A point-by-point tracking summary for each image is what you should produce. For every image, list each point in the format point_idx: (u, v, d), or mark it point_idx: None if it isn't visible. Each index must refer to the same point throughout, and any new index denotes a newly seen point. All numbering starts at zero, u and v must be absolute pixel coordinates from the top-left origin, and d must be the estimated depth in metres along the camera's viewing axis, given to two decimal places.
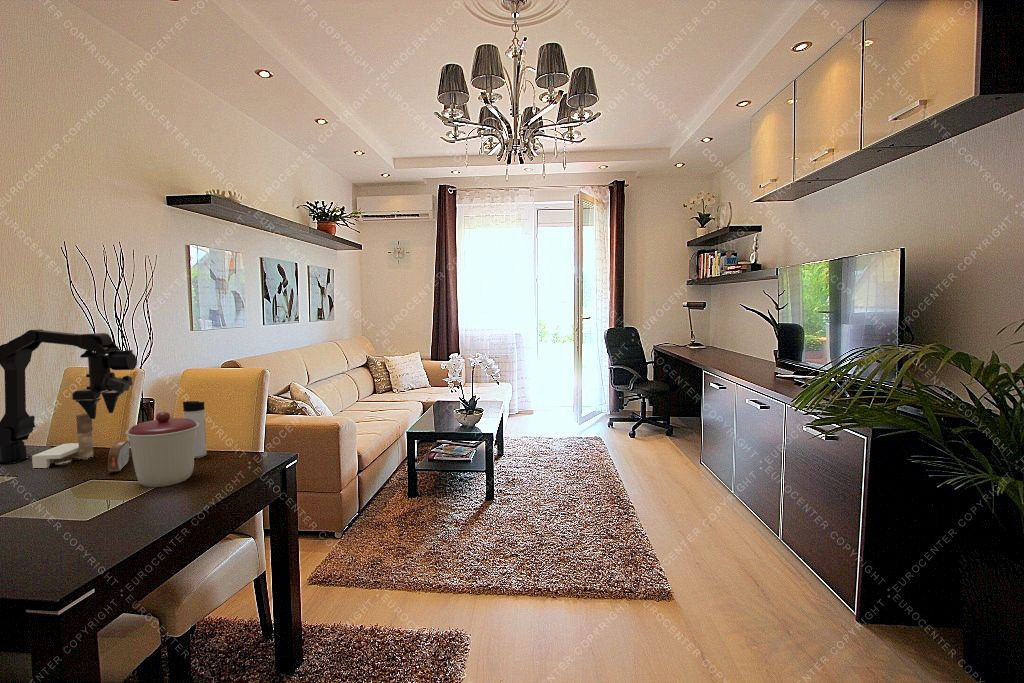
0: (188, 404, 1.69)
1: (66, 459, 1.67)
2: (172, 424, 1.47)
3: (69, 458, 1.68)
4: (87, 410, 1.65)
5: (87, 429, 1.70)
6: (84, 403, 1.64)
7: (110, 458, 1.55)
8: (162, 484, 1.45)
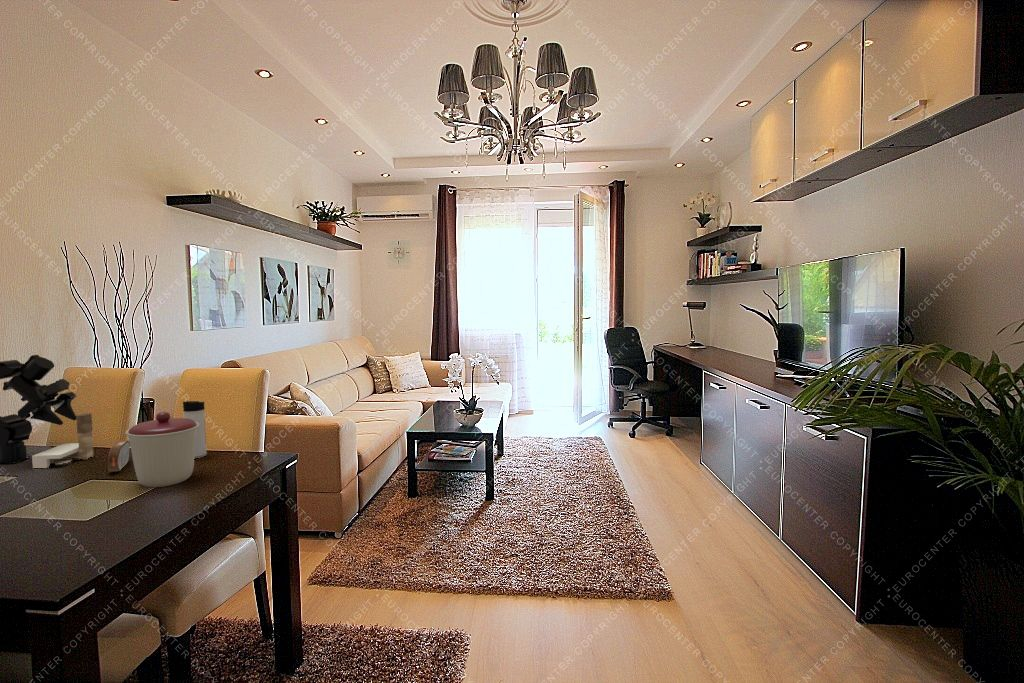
0: (188, 404, 1.69)
1: (66, 459, 1.67)
2: (172, 424, 1.47)
3: (69, 458, 1.68)
4: (49, 420, 1.65)
5: (87, 429, 1.70)
6: (41, 416, 1.64)
7: (110, 458, 1.55)
8: (162, 484, 1.45)
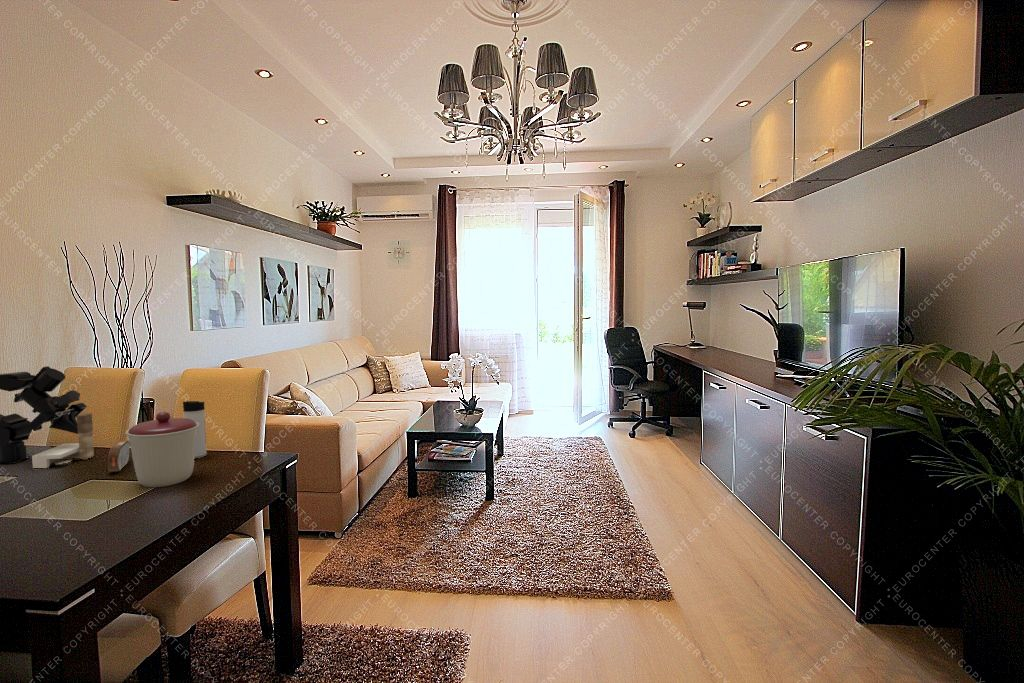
0: (188, 404, 1.69)
1: (66, 459, 1.67)
2: (172, 424, 1.47)
3: (69, 458, 1.68)
4: (67, 429, 1.68)
5: (87, 429, 1.70)
6: (59, 425, 1.67)
7: (110, 458, 1.55)
8: (162, 484, 1.45)
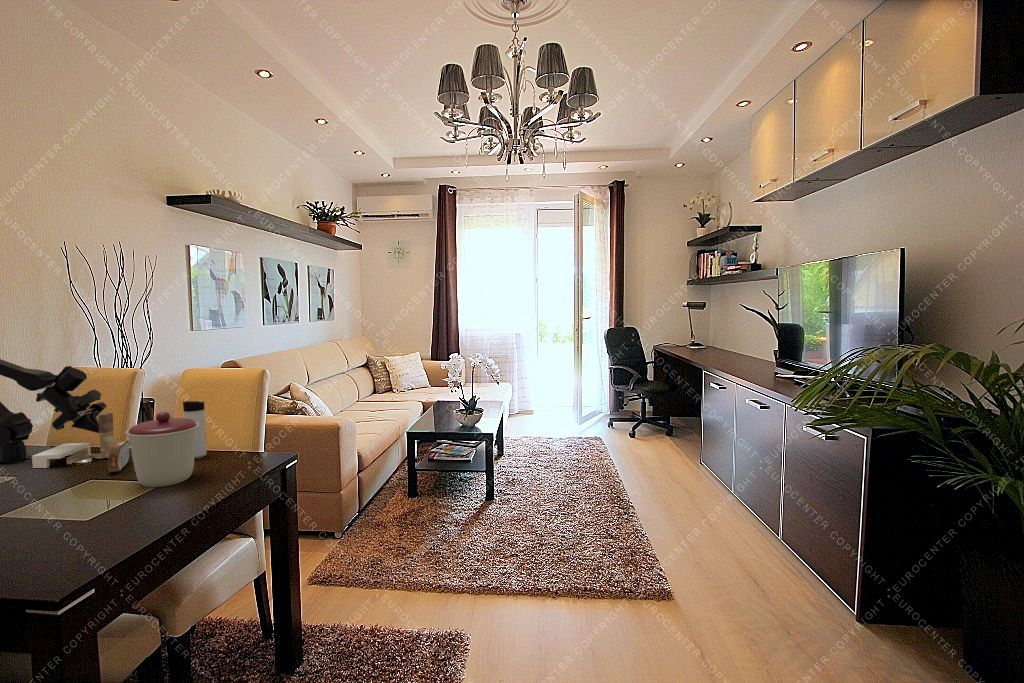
0: (188, 404, 1.69)
1: (86, 458, 1.68)
2: (172, 424, 1.47)
3: None
4: (89, 428, 1.69)
5: (109, 428, 1.71)
6: (81, 425, 1.68)
7: (110, 458, 1.55)
8: (162, 484, 1.45)
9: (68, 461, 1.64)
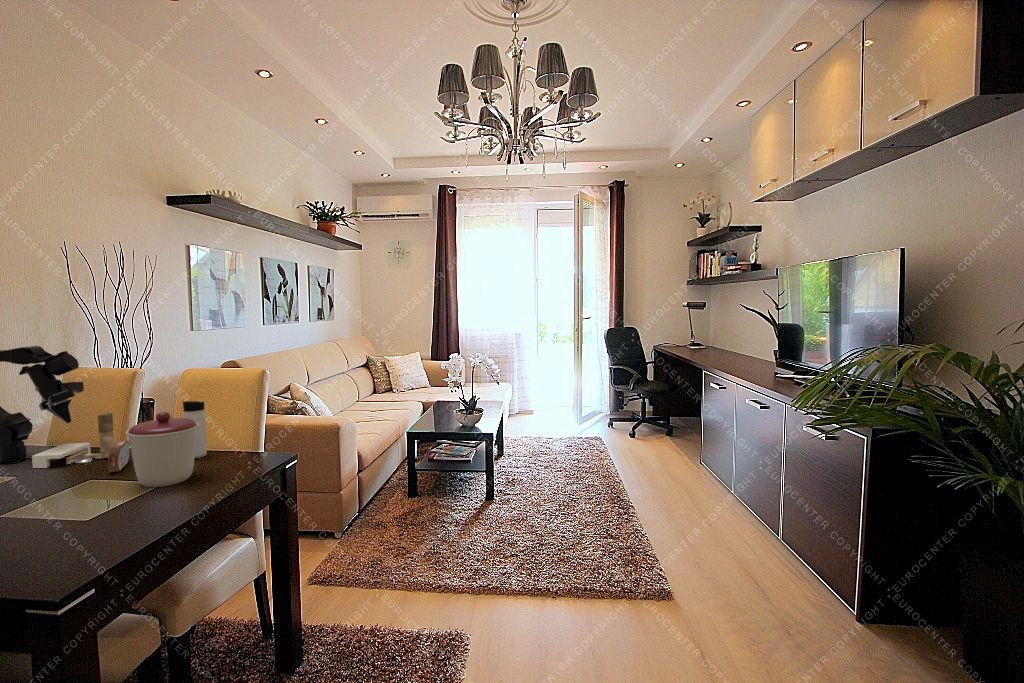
0: (188, 404, 1.69)
1: (86, 458, 1.68)
2: (172, 424, 1.47)
3: None
4: (62, 415, 1.69)
5: (108, 428, 1.71)
6: (57, 409, 1.68)
7: (110, 458, 1.55)
8: (162, 484, 1.45)
9: (68, 461, 1.64)
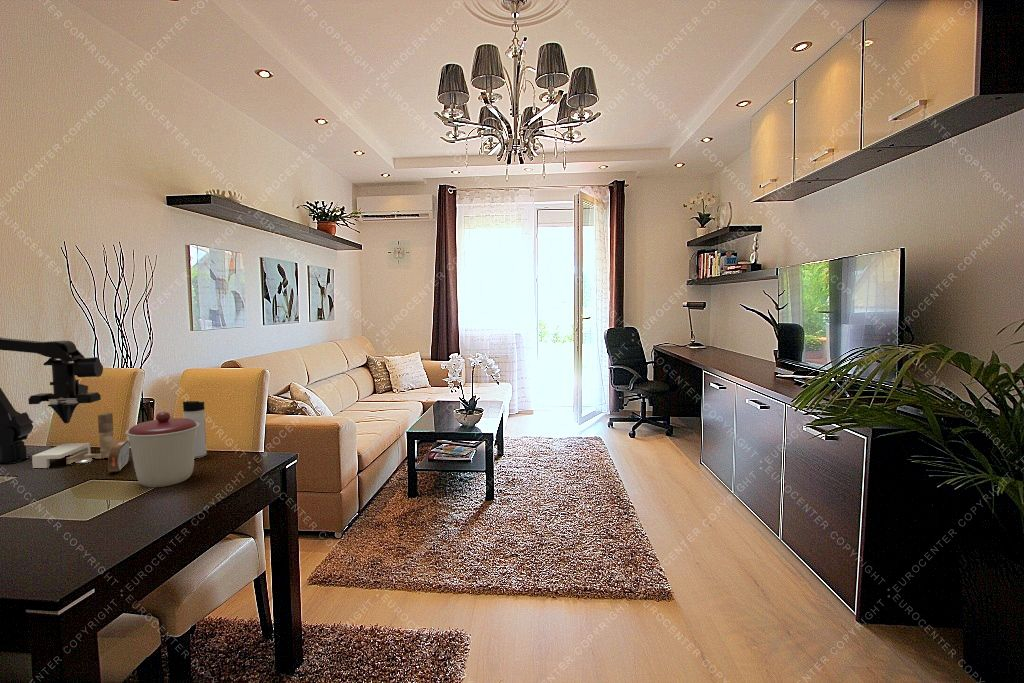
0: (188, 404, 1.69)
1: (86, 458, 1.68)
2: (172, 424, 1.47)
3: None
4: (68, 414, 1.71)
5: (108, 428, 1.71)
6: (69, 407, 1.70)
7: (110, 458, 1.55)
8: (162, 484, 1.45)
9: (68, 461, 1.64)
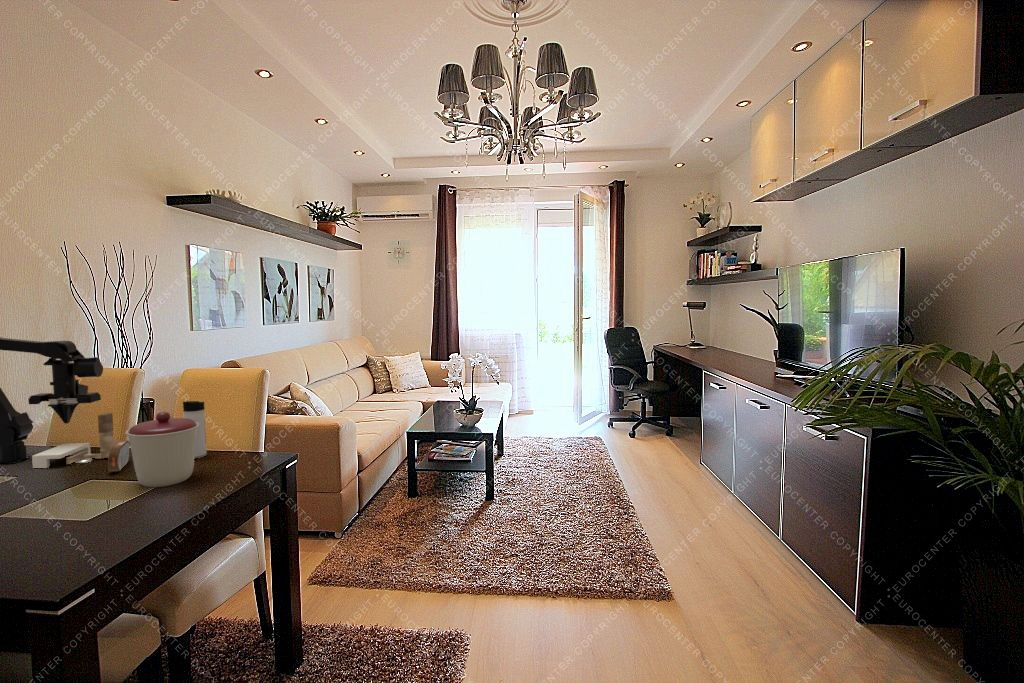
0: (188, 404, 1.69)
1: (86, 458, 1.68)
2: (172, 424, 1.47)
3: None
4: (68, 414, 1.71)
5: (108, 428, 1.71)
6: (69, 407, 1.70)
7: (110, 458, 1.55)
8: (162, 484, 1.45)
9: (68, 461, 1.64)
